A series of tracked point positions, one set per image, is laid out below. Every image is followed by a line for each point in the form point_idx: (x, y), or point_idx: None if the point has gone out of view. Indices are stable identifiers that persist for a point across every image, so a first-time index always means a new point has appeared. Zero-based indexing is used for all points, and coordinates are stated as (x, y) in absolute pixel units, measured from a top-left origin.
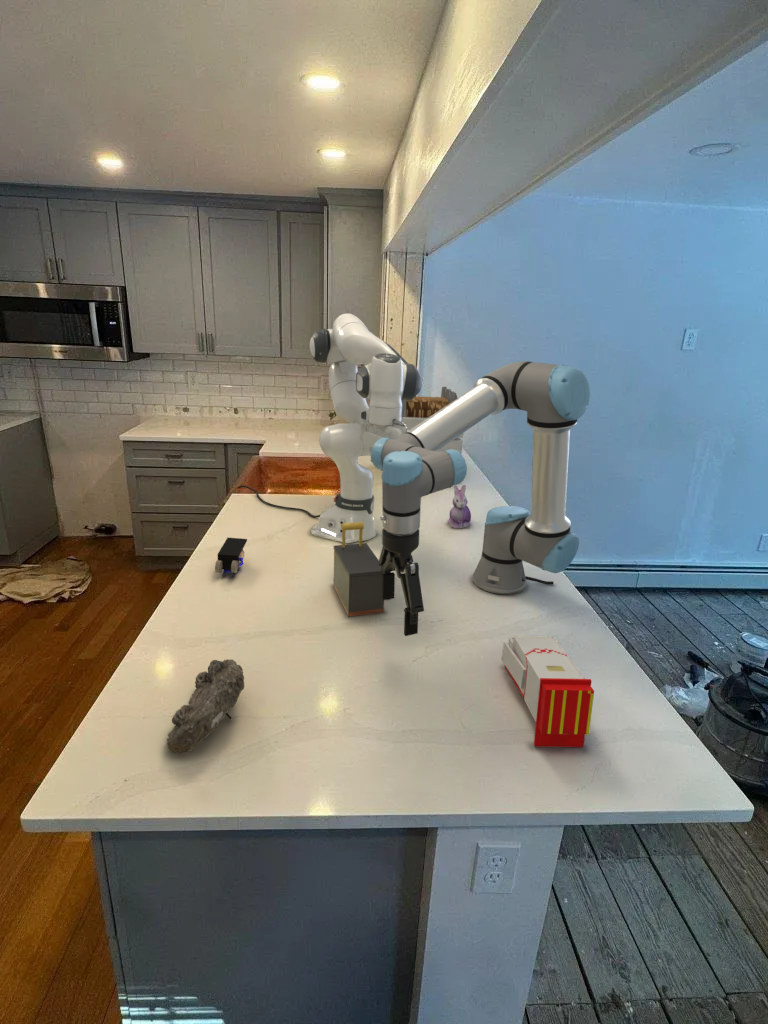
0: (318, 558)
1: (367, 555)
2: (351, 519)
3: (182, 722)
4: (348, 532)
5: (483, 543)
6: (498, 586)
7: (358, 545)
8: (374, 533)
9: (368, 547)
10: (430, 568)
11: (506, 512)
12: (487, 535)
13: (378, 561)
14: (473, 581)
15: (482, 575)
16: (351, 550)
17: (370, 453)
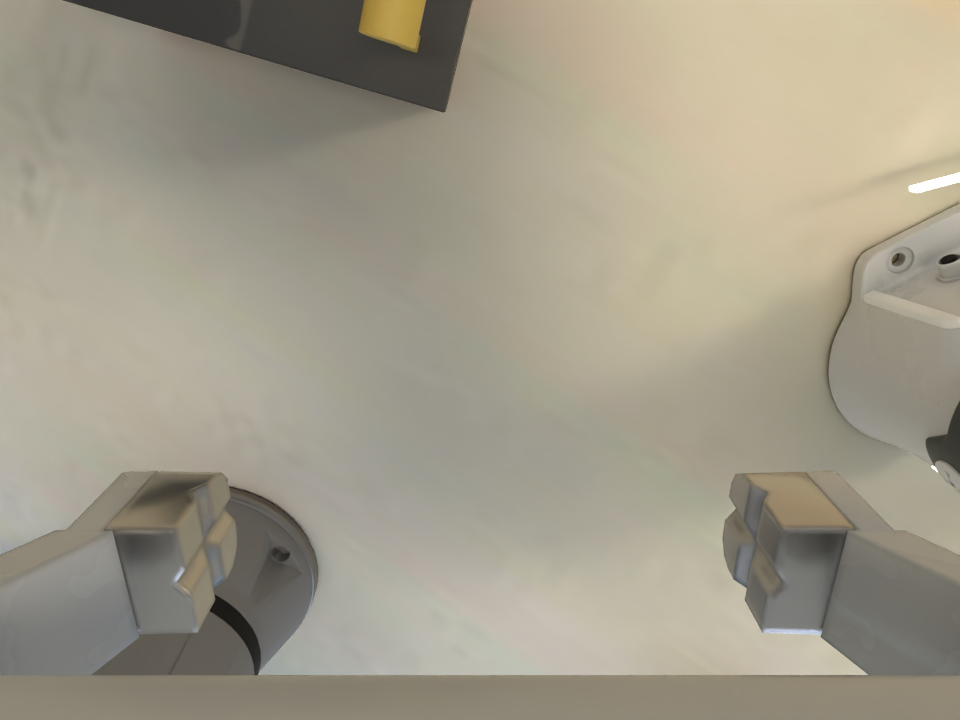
0: (807, 21)
1: (258, 1)
2: (948, 320)
3: None
4: (915, 290)
5: (189, 635)
6: None
7: (429, 36)
8: (853, 419)
9: (371, 81)
10: (435, 433)
11: None
12: (122, 670)
13: (150, 18)
14: (259, 498)
15: None
16: None
17: (937, 563)
